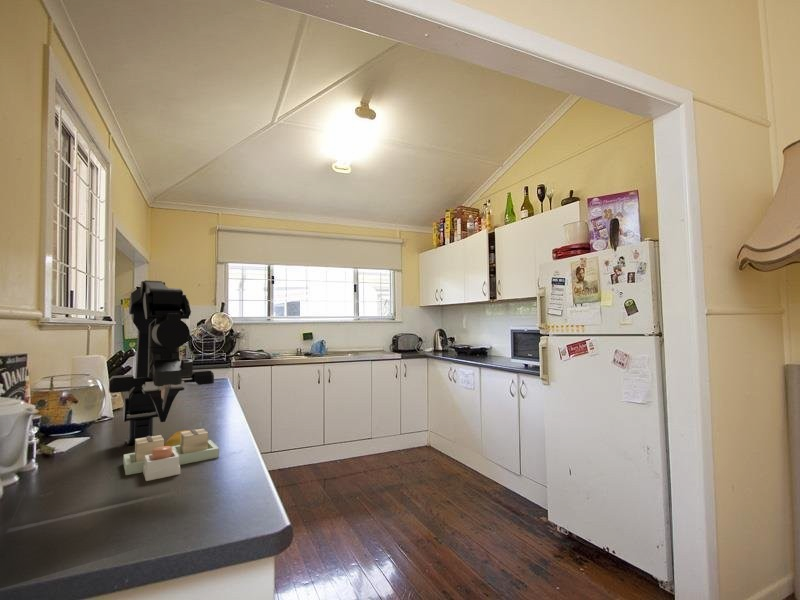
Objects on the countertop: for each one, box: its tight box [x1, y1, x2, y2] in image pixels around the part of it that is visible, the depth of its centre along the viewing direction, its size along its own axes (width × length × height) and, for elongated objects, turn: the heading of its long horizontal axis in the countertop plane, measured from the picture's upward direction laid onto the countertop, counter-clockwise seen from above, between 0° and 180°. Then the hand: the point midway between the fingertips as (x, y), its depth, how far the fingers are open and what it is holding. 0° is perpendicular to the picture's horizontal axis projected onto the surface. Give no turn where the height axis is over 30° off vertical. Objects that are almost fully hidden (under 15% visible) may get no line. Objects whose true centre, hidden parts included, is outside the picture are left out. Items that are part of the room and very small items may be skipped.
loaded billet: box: [134, 434, 165, 462], centre depth 90 cm, size 5×5×6 cm
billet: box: [180, 428, 209, 454], centre depth 95 cm, size 5×5×6 cm
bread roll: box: [164, 429, 190, 446], centre depth 105 cm, size 8×9×4 cm
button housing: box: [142, 450, 181, 482], centre depth 84 cm, size 6×6×4 cm
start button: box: [152, 446, 172, 461], centre depth 85 cm, size 4×4×2 cm
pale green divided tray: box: [122, 439, 220, 476], centre depth 93 cm, size 9×18×2 cm, turn 127°
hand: (162, 421), depth 85 cm, fingers closed
